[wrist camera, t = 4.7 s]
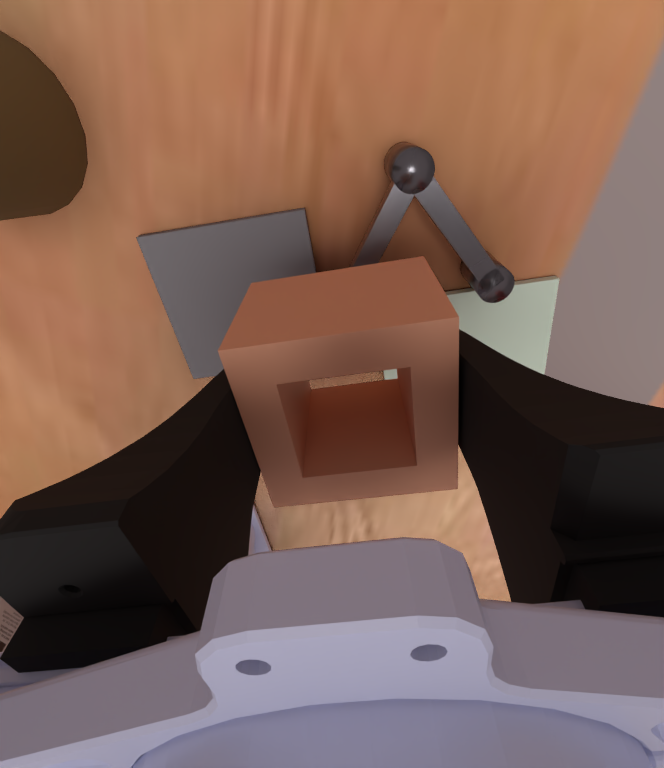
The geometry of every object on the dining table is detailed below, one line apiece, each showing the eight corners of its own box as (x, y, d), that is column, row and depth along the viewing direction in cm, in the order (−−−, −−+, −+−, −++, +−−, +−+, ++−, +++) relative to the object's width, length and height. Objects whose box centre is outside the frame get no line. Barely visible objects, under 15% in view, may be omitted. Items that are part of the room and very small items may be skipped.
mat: (331, 355, 21) (331, 359, 20) (195, 374, 21) (193, 378, 21) (304, 207, 17) (304, 209, 16) (140, 235, 17) (136, 237, 17)
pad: (534, 415, 23) (537, 419, 23) (389, 432, 23) (390, 437, 23) (555, 275, 18) (559, 278, 18) (376, 301, 19) (377, 305, 19)
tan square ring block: (429, 398, 15) (457, 489, 12) (288, 416, 16) (274, 507, 12) (423, 255, 13) (459, 316, 9) (251, 282, 13) (217, 350, 9)
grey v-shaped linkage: (492, 278, 18) (512, 300, 16) (328, 302, 19) (328, 326, 17) (501, 124, 15) (529, 127, 13) (303, 159, 16) (300, 167, 14)
